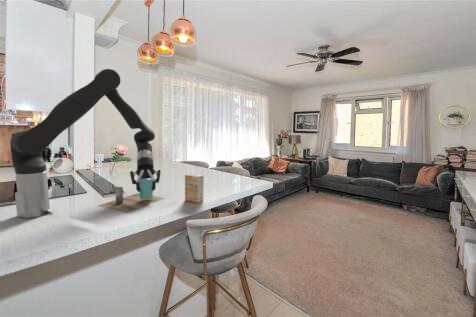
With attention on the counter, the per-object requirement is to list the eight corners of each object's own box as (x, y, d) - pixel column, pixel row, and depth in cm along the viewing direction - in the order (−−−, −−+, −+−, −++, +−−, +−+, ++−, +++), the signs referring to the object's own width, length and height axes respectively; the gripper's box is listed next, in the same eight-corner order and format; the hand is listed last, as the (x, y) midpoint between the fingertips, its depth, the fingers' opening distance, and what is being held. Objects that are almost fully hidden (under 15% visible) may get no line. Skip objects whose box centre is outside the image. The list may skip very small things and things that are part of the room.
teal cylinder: (146, 200, 105) (145, 180, 104) (136, 198, 108) (135, 179, 107) (155, 196, 111) (155, 178, 110) (146, 195, 113) (145, 176, 112)
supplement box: (184, 200, 115) (184, 174, 114) (190, 198, 120) (190, 173, 118) (197, 203, 111) (197, 176, 110) (203, 200, 116) (203, 174, 114)
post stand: (127, 216, 94) (126, 195, 93) (97, 208, 101) (96, 189, 100) (165, 201, 114) (164, 184, 113) (137, 195, 121) (137, 179, 120)
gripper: (128, 156, 111) (128, 187, 102) (160, 156, 116) (162, 185, 107) (129, 166, 117) (129, 195, 107) (160, 164, 122) (162, 193, 113)
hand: (146, 190), depth 107 cm, fingers closed on teal cylinder, 5 cm apart
